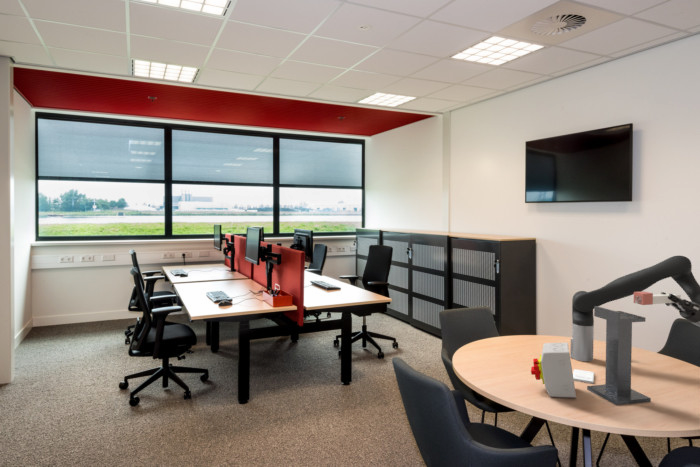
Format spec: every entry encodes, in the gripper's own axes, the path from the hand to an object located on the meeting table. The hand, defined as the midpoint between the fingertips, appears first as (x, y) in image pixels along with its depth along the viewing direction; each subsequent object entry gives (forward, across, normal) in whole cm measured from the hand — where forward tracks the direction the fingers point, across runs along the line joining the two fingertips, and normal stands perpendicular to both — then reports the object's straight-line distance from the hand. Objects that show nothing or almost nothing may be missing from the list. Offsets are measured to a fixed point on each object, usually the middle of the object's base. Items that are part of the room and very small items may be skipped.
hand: (665, 295), depth 172 cm
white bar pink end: (+2, 0, +4) cm, 5 cm away
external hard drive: (-2, -20, +45) cm, 49 cm away
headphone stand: (-1, 0, +44) cm, 44 cm away
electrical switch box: (+18, -9, +55) cm, 59 cm away
